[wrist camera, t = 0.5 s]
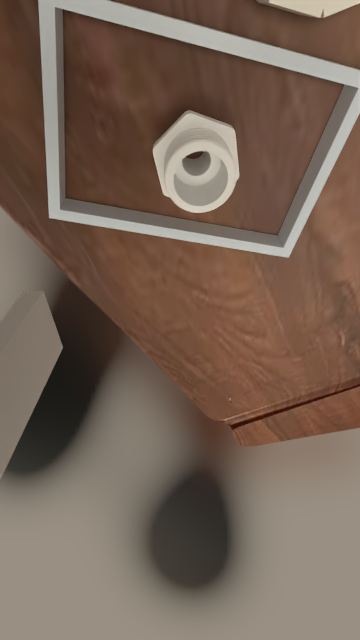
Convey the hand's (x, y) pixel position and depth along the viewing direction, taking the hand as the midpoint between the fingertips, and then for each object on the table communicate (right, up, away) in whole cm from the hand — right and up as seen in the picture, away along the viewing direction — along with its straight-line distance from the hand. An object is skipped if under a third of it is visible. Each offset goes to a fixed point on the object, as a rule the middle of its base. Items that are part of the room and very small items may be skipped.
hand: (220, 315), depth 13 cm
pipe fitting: (0, +15, +18) cm, 24 cm away
